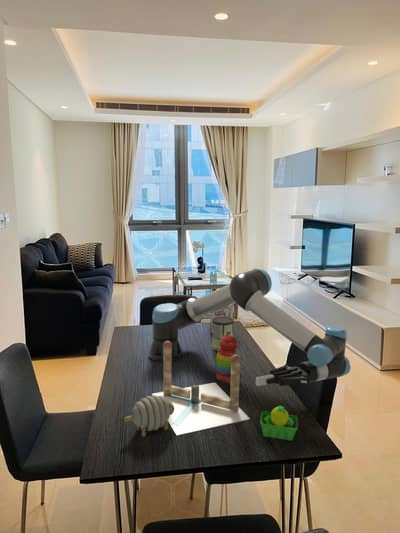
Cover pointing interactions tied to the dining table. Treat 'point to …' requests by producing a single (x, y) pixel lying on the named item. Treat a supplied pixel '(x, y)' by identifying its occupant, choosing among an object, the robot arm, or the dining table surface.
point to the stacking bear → (225, 358)
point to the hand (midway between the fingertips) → (256, 381)
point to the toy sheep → (151, 413)
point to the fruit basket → (278, 424)
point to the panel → (234, 389)
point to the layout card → (200, 411)
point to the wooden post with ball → (167, 386)
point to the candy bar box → (222, 314)
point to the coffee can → (221, 330)
